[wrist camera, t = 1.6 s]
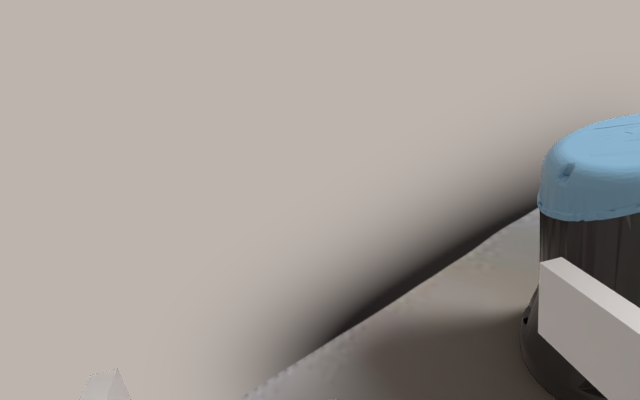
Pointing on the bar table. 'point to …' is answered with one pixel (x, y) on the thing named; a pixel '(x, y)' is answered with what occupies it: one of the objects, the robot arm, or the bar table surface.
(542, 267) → the robot arm
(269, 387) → the bar table surface
